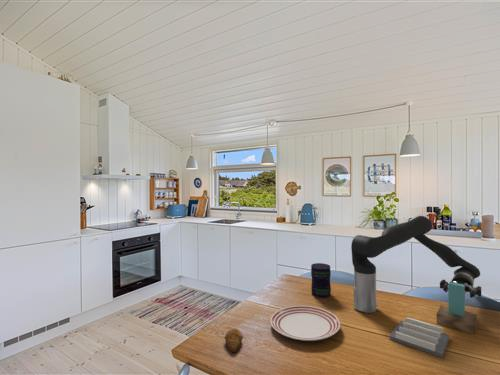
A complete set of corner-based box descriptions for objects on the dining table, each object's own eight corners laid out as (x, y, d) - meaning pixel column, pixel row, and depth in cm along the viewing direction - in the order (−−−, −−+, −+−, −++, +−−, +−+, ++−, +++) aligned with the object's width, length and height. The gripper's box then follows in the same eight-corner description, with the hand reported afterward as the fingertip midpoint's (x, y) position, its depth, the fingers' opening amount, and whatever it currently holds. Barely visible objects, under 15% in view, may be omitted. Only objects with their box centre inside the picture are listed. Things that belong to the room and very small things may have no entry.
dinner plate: (261, 340, 101) (261, 331, 101) (279, 308, 126) (279, 301, 126) (339, 354, 91) (339, 344, 91) (341, 317, 117) (341, 309, 117)
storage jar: (310, 290, 146) (310, 262, 146) (329, 291, 145) (328, 263, 145) (312, 298, 136) (311, 268, 136) (332, 298, 135) (331, 269, 135)
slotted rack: (389, 339, 99) (389, 330, 99) (401, 323, 110) (401, 315, 110) (442, 357, 88) (442, 347, 88) (449, 337, 99) (449, 329, 99)
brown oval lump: (225, 333, 106) (225, 321, 106) (243, 333, 106) (242, 320, 106) (223, 355, 92) (223, 340, 92) (243, 354, 92) (243, 340, 92)
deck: (436, 323, 110) (436, 313, 110) (441, 314, 117) (440, 305, 117) (475, 334, 102) (474, 323, 101) (477, 323, 109) (477, 313, 109)
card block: (448, 312, 110) (448, 283, 110) (449, 310, 112) (449, 281, 112) (464, 316, 107) (463, 286, 107) (464, 314, 108) (464, 284, 108)
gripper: (443, 270, 130) (437, 279, 118) (483, 277, 120) (480, 287, 108) (444, 286, 130) (437, 296, 118) (483, 294, 120) (480, 306, 108)
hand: (458, 292), depth 113 cm, fingers open, 8 cm apart
